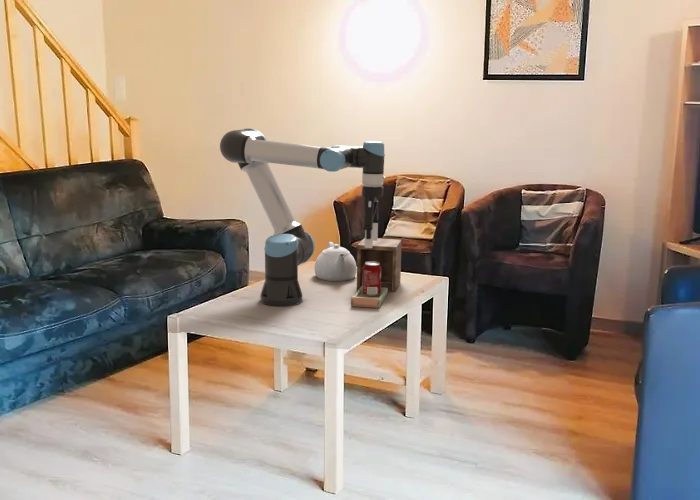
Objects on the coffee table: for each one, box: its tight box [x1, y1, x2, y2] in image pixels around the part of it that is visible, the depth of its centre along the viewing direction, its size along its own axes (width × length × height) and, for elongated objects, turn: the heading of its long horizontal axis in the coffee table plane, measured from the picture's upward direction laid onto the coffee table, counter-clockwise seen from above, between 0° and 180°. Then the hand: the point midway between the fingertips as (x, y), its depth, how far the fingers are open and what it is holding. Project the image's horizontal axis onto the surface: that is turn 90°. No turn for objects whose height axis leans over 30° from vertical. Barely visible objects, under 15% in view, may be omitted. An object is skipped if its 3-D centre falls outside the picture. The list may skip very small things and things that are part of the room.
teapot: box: [314, 241, 357, 282], centre depth 319 cm, size 19×18×14 cm
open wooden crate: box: [356, 237, 403, 293], centre depth 304 cm, size 15×15×18 cm
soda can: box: [362, 262, 382, 297], centre depth 287 cm, size 7×7×12 cm
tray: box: [350, 286, 388, 309], centre depth 285 cm, size 10×20×3 cm, turn 169°
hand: (371, 244), depth 283 cm, fingers open, 13 cm apart
